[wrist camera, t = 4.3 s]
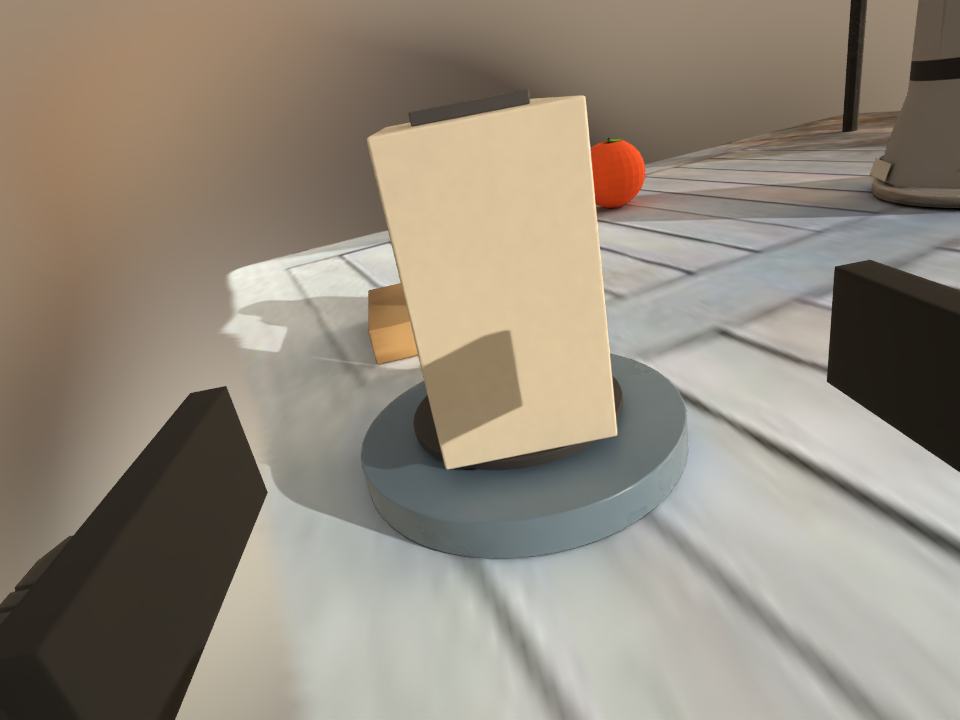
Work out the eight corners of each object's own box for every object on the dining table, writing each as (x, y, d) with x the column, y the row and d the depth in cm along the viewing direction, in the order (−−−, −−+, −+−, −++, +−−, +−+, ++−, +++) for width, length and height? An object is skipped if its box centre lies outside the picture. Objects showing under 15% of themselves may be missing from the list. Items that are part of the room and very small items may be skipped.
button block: (531, 283, 45) (524, 231, 43) (568, 320, 37) (560, 257, 35) (375, 318, 44) (361, 266, 42) (377, 364, 36) (360, 302, 34)
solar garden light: (781, 140, 86) (788, -113, 74) (832, 124, 91) (846, -115, 79) (870, 136, 76) (895, -157, 64) (922, 119, 81) (954, -156, 69)
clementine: (601, 199, 70) (595, 135, 67) (659, 195, 66) (656, 127, 63) (571, 216, 64) (563, 147, 61) (633, 213, 60) (628, 139, 57)
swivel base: (612, 354, 31) (610, 327, 31) (762, 499, 19) (763, 460, 19) (369, 412, 30) (361, 386, 29) (370, 604, 18) (357, 567, 18)
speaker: (655, 442, 20) (631, 69, 16) (413, 491, 20) (315, 131, 15) (590, 347, 28) (560, 81, 23) (416, 381, 28) (352, 122, 23)
